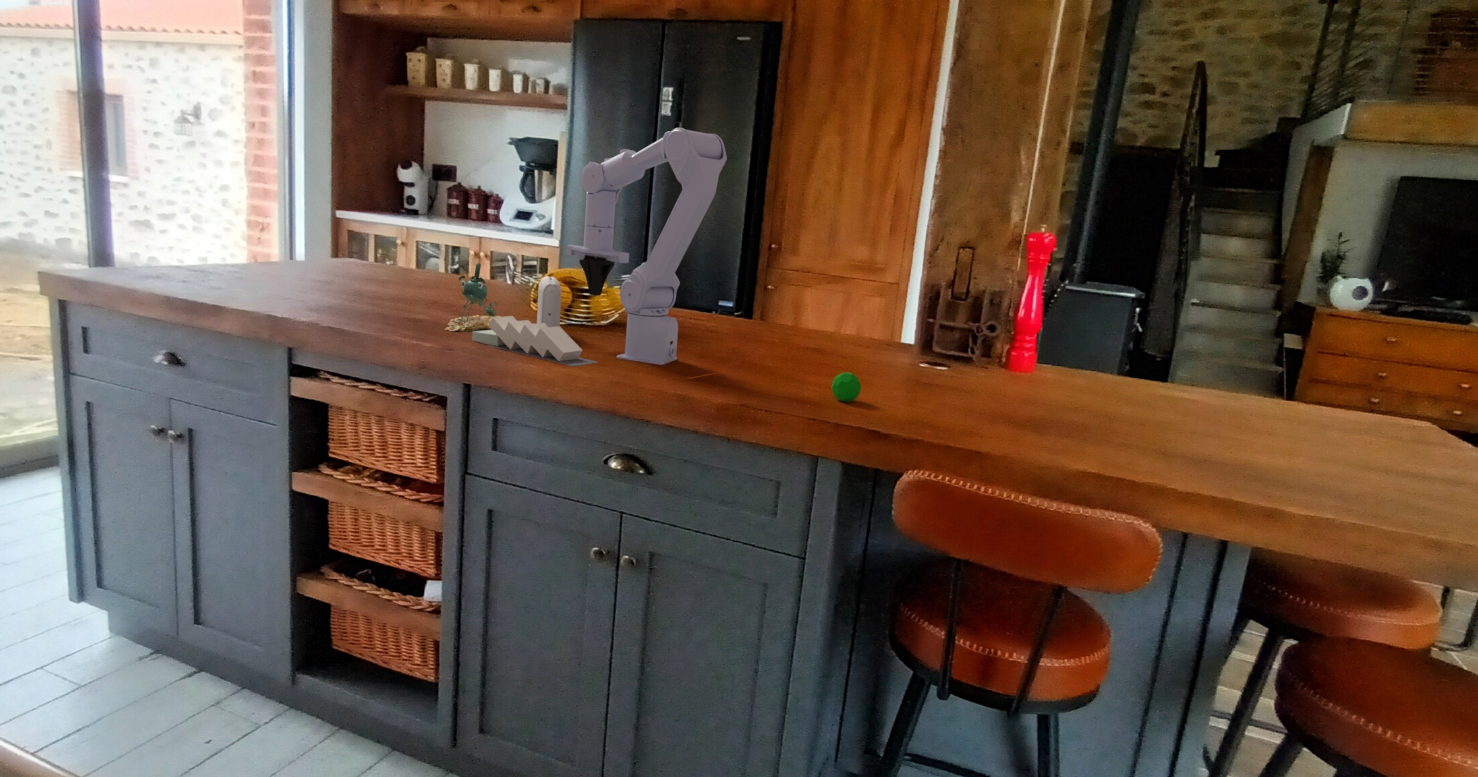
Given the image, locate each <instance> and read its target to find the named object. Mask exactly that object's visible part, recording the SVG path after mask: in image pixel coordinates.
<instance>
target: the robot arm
mask: <svg viewBox="0 0 1478 777" xmlns="http://www.w3.org/2000/svg"><path fill="white" fill-rule="evenodd" d="M725 148H726V147H725V145H724V141H723V139H722V138H721V136H719V135H718V134H716V133H707V132H706V133H705V132H700V131H695V130H689V129H685V128H683V127H676V128H673V129H672V130H671V131H666V132H665V133H664V134H663V136H662V137H661V138H659V139H657V140H656V141H655V142H652V143H650V144H649V145H648V146H646V147H644V148H643V149H640V150H639V151H638V152H637V151H635V150H633V149H632V150H631V149H628V148H622V149H621V150H619V154H617V155H615V156H613V157H607V158H604V160H603V161H602V162H601V163H598V162H595V161H594V162H593V161H589V162H588V163H587V164H585V166H584V167H583V168H582V171H581V174H580V182H581V183H580V184H581V186H582V188H583V190H584V191H585V192H586V195H585V196H586V198H585V214H584V216H585V217H584V230H583V231H584V232H583V233H584V234H583V245H578V244H577V245H576V244H568V245H567V252H566V255H569V256H576V257H577V256H578V257H583V258H582V259H579V264H580V266H581V268H582V270H583V273H584V276H585V279H586V283H587V287H588V288H587V289H588V294H589V296H595V297H596V296H601V295H602V292H603V288H604V286H605V283H606V281H607V278H608V276H609V275H610V273H611V271H612V269H613V268H614V266H615V263H616V262H617V263H620V264H629V262H630V261H629V260H630V253H629V252H624V251H620V250H619V251H618V250H615V249H614V246H613V245H614V234H615V233H614V232H615V231H614V230H615V228H614V227H615V213H616V204H618V201H619V195H620V193H621V192H622V191H623V187H626V186H628V185H630V184H632V183H635V182H637V181H639V180H641V179H642V178H643V177H644V176H645V173H646V170H648V169H651V168H654V167H656V166H659V165H662V164H663V163H667V162H668V163H669V165H670V168H671V170H672V171H673V173H674V176H675V178H676V180H677V181H678V183H680V184H681V187H682V190H681V192H680V194H679V196H678V198H677V199H676V202H675V204H674V206H673V208H672V210H671V212H670V215H669V216H668V218H667V220H666V222H665V225H664V226H663V229H662V231H660V232H661V233H660V234H659V236H658V239H657V240H656V242H655V244H654V246H653V249H652V251H651V253H650V254H649V257H648V259H647V261H646V262H644V263H642V264H641V265H638V266H637V267H636V268H634V269H633V270H632V272H631V274H630V276H629V277H628V278H626V279H625V280H623V282H622V284H621V286H620V288H619V289H620V290H619V299H620V302H621V305H622V308H624V312H625V313H627V318H626V320H627V321H626V334H625V335H626V336H625V348H624V353H622V354H618V355H616V359H621V360H626V361H634V362H640V363H646V364H652V365H658V366H659V365H660V366H663V365H666V364H669V363H671V362H673V361H677V359H678V357H677V347H678V337H679V336H678V334H679V323H678V320H677V318H676V317H672V316H668V315H669V314H670V313H669V312H670V309H672V307H673V306H674V305H675V302H676V299H677V292H678V289H679V286H680V284H681V282H680V279H679V277H678V276H677V275H676V271H677V270H678V267H679V266H680V264H681V262H682V260H683V258H684V256H685V254H686V252H687V250H688V248H689V246H690V244H691V242H692V241H693V238H694V237H695V234H696V233H697V231H698V228H699V227H700V225H701V223H702V221H703V219H704V217H705V215H706V214H707V211H708V209H709V207H710V205H711V203H712V202H713V200H714V198H715V195H716V193H717V188H718V187H717V186H718V184H719V183H718V182H719V176H720V173H721V172H722V170H723V168H724V166H725V164H726V162H727V160H728V158H727V157H728V156H727V152H726V149H725ZM600 255H601V256H600Z"/></svg>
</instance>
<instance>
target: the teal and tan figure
mask: <svg viewBox="0 0 1478 777" xmlns="http://www.w3.org/2000/svg"><path fill="white" fill-rule="evenodd" d="M481 266H482V264H481V262H479V261H478V262H477V263H476V264H475V270H474V275H472V276H471V277H470V279H469V280H468V281H466V280H465V279H466V276H464V275H460V276H459V278H458V282H459V281H460V285H461V288H463V290H461V293H462V295H463V296H464V298H465V300H466V303H465V304H464V305H462V307H463V312H462V315H461V317H458V318H457V317H455V318H452V319H450V320H449V322H448V323H447V327H446V328H444V330H445V331H449V332H457V331H458V332H473V331H481V330H492V329H491V328H490V327H489V324H490V322H491V320H492V318H494V317H502V316H501V315H497V312H496V311H495V309H494V308H493V306H494V305H495V306H498V304H497V303H496V301H495V302H493V303H492V302H491V301H490V302H489V306H487V305H486V303H488V300H487V298H488V297H487V296H488V287H487V285H486V281H485V280H484V278H482V277H480V273H481V268H482V267H481ZM463 279H464V280H463ZM468 302H469V304H468ZM474 304H476V305H477V304H478V306H479V307H480V308H481V307H482V308H483V311H484V312H485V313H483V315H480V314H477V315H470V311H471V309H472V307H473V305H474ZM469 306H470V307H469ZM467 307H469V310H468V313H467V316H464V314H465V311H466V309H467Z"/></svg>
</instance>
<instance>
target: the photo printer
mask: <svg viewBox="0 0 1478 777" xmlns="http://www.w3.org/2000/svg"><path fill="white" fill-rule="evenodd" d="M537 296H538V297H537V317H536V323H545V324H546V325H547V326H548V327H557V326H560V325H561V324H560V323H561V322H560V321H561V307H562V306H561V305H562V286H561V284H560V282H559V280H558V279H557V278H556V277H554V276H548V275H546V276H543V277H542V279H540V281H539V283H538V293H537ZM560 327H561V326H560Z"/></svg>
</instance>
